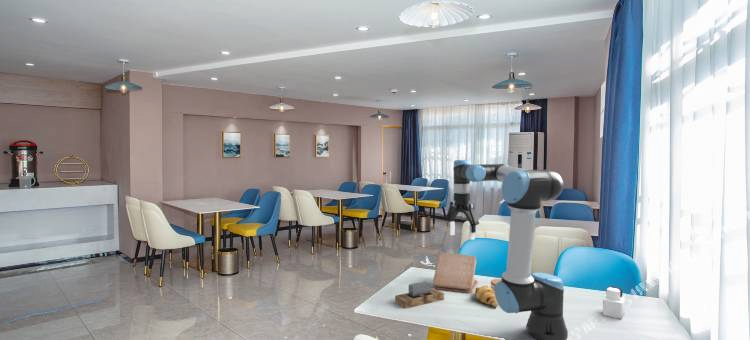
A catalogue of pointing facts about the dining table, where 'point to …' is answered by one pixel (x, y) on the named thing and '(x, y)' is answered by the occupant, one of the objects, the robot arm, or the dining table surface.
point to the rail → (419, 299)
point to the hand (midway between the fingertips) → (461, 237)
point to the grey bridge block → (419, 289)
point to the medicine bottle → (614, 303)
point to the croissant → (486, 295)
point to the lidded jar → (494, 281)
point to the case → (455, 273)
